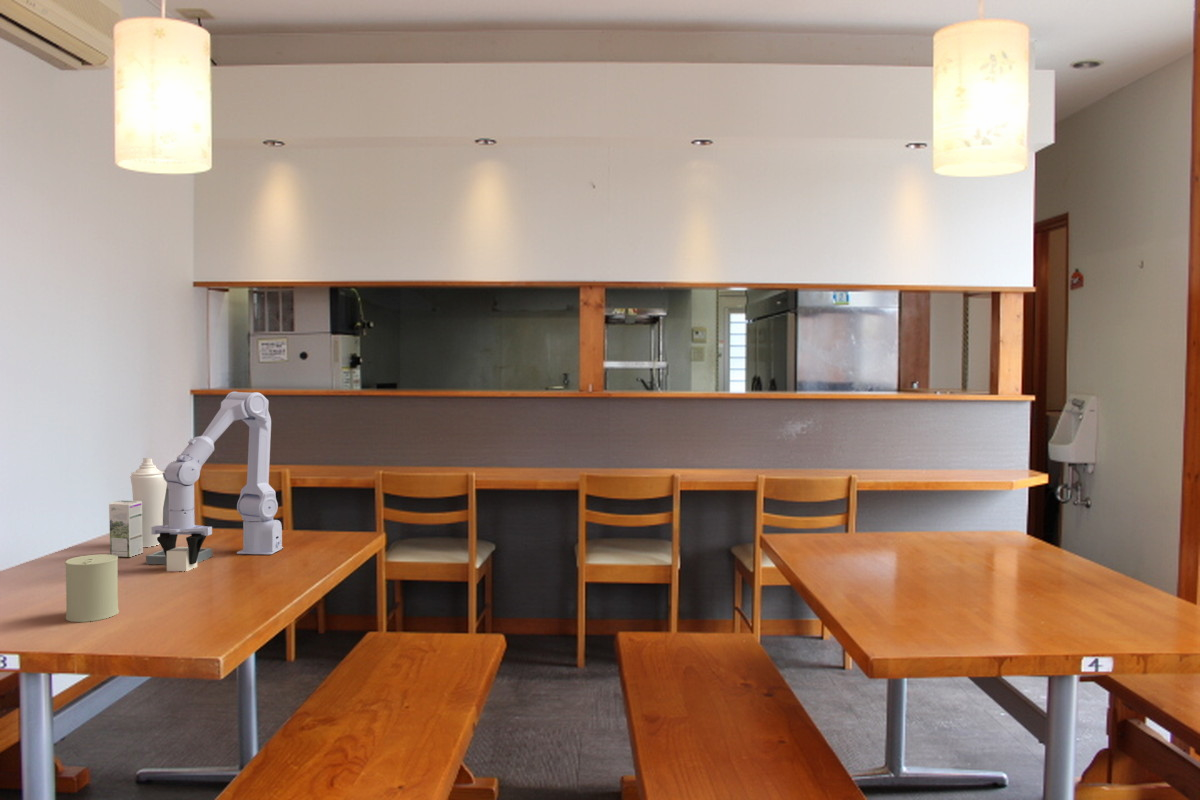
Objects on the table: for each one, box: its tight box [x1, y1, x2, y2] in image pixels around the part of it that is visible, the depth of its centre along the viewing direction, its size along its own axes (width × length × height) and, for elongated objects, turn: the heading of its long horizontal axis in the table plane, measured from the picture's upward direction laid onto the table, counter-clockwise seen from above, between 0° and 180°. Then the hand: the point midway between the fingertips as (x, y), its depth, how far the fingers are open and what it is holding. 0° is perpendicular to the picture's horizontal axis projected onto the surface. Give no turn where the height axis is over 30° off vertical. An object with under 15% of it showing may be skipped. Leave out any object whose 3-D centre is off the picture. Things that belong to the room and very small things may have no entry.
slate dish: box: [145, 547, 213, 566], centre depth 214 cm, size 12×10×2 cm
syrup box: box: [108, 499, 144, 558], centre depth 219 cm, size 6×6×14 cm
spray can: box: [129, 457, 168, 548], centre depth 231 cm, size 12×11×25 cm
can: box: [64, 553, 120, 623], centre depth 167 cm, size 9×9×12 cm
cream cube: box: [166, 546, 198, 573], centre depth 205 cm, size 5×5×5 cm
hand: (182, 563), depth 206 cm, fingers closed on cream cube, 5 cm apart
